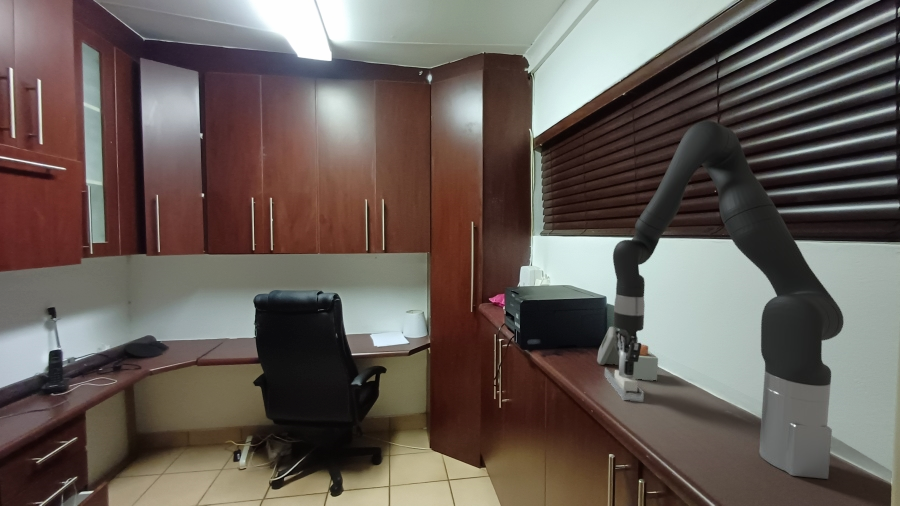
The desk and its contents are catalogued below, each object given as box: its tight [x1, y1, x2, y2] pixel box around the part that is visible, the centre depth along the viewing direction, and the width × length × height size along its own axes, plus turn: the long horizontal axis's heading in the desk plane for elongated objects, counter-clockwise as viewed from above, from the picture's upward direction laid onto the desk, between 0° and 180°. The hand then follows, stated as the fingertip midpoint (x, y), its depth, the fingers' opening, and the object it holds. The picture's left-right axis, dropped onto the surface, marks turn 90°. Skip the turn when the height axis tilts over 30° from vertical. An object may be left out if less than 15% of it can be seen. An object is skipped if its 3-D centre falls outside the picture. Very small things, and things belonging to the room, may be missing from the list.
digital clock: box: [596, 326, 620, 366], centre depth 129 cm, size 16×9×11 cm, turn 144°
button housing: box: [633, 350, 659, 382], centre depth 115 cm, size 7×7×7 cm
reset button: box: [639, 343, 649, 356], centre depth 114 cm, size 4×4×3 cm
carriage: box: [614, 349, 638, 392], centre depth 103 cm, size 8×4×10 cm, turn 173°
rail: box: [604, 367, 645, 403], centre depth 105 cm, size 17×5×3 cm, turn 173°
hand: (625, 371), depth 103 cm, fingers closed on carriage, 3 cm apart
